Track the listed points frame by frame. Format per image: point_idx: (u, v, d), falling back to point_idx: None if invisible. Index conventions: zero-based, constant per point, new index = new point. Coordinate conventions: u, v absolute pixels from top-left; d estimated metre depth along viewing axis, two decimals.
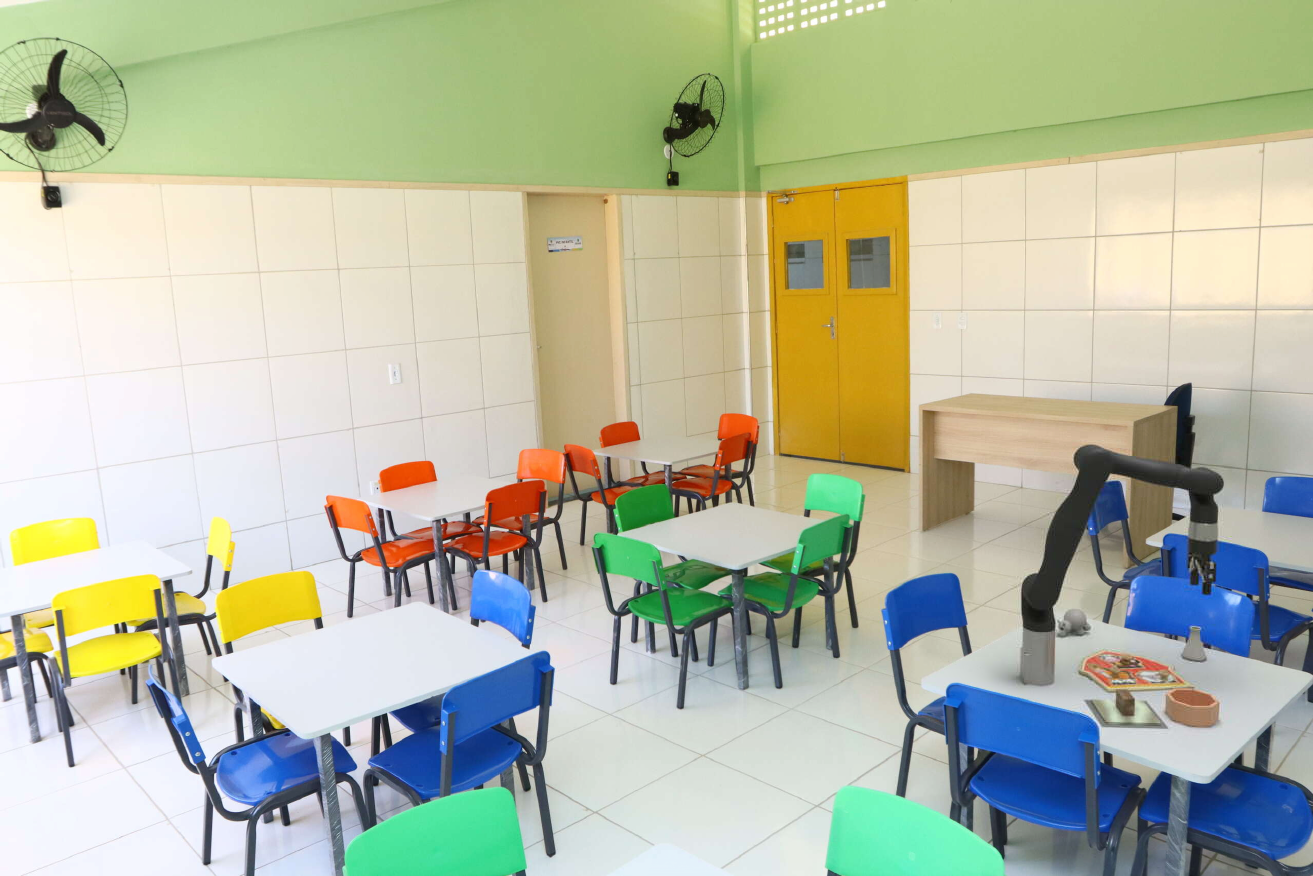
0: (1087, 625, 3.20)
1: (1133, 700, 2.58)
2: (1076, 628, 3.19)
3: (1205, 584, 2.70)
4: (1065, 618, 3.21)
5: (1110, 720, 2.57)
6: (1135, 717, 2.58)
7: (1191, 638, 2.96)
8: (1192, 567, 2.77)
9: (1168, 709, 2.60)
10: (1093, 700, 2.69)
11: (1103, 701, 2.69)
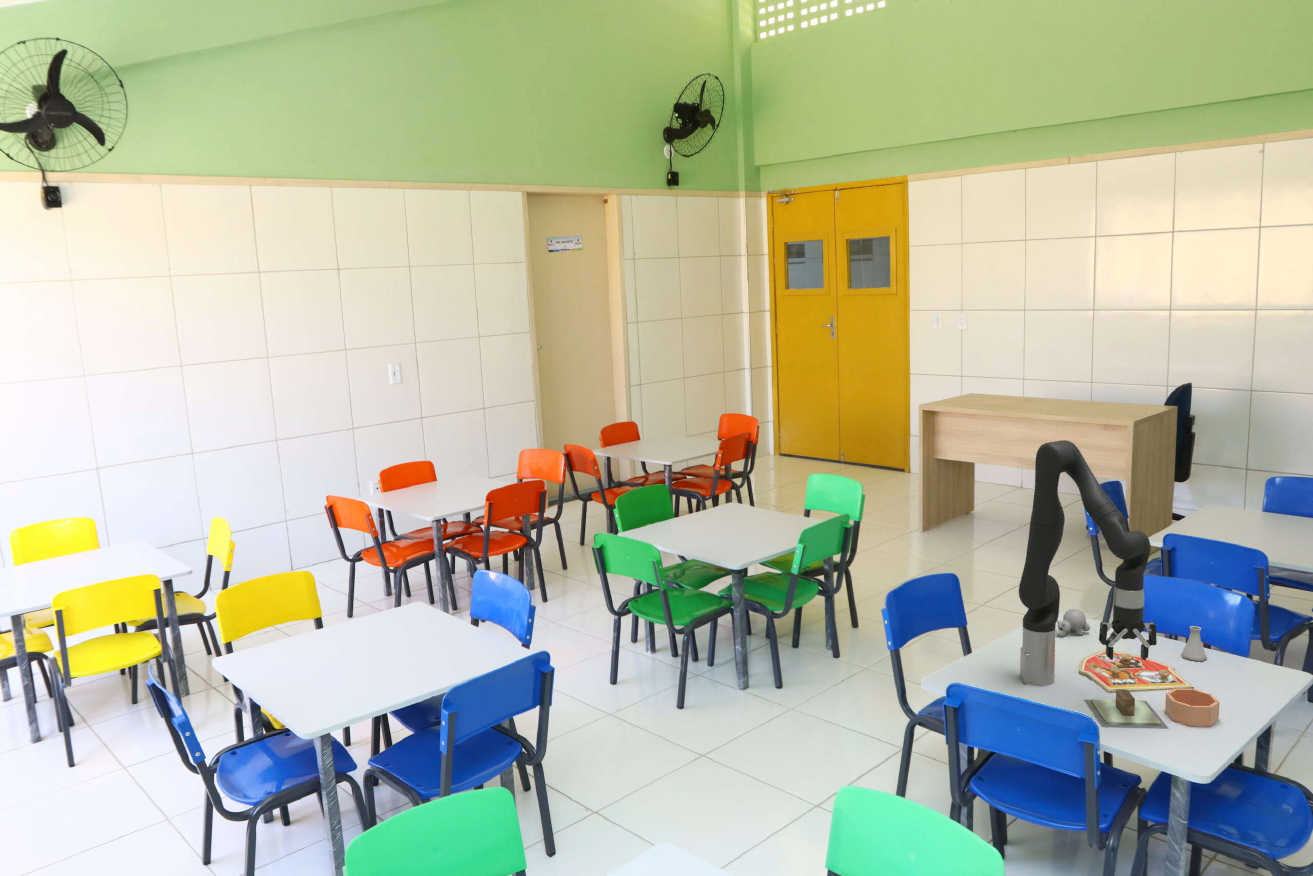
0: (1086, 625, 3.20)
1: (1133, 700, 2.58)
2: (1075, 628, 3.19)
3: (1147, 648, 2.58)
4: (1064, 618, 3.21)
5: (1110, 720, 2.57)
6: (1135, 717, 2.58)
7: (1191, 638, 2.96)
8: None
9: (1168, 709, 2.60)
10: (1093, 700, 2.69)
11: (1103, 701, 2.69)
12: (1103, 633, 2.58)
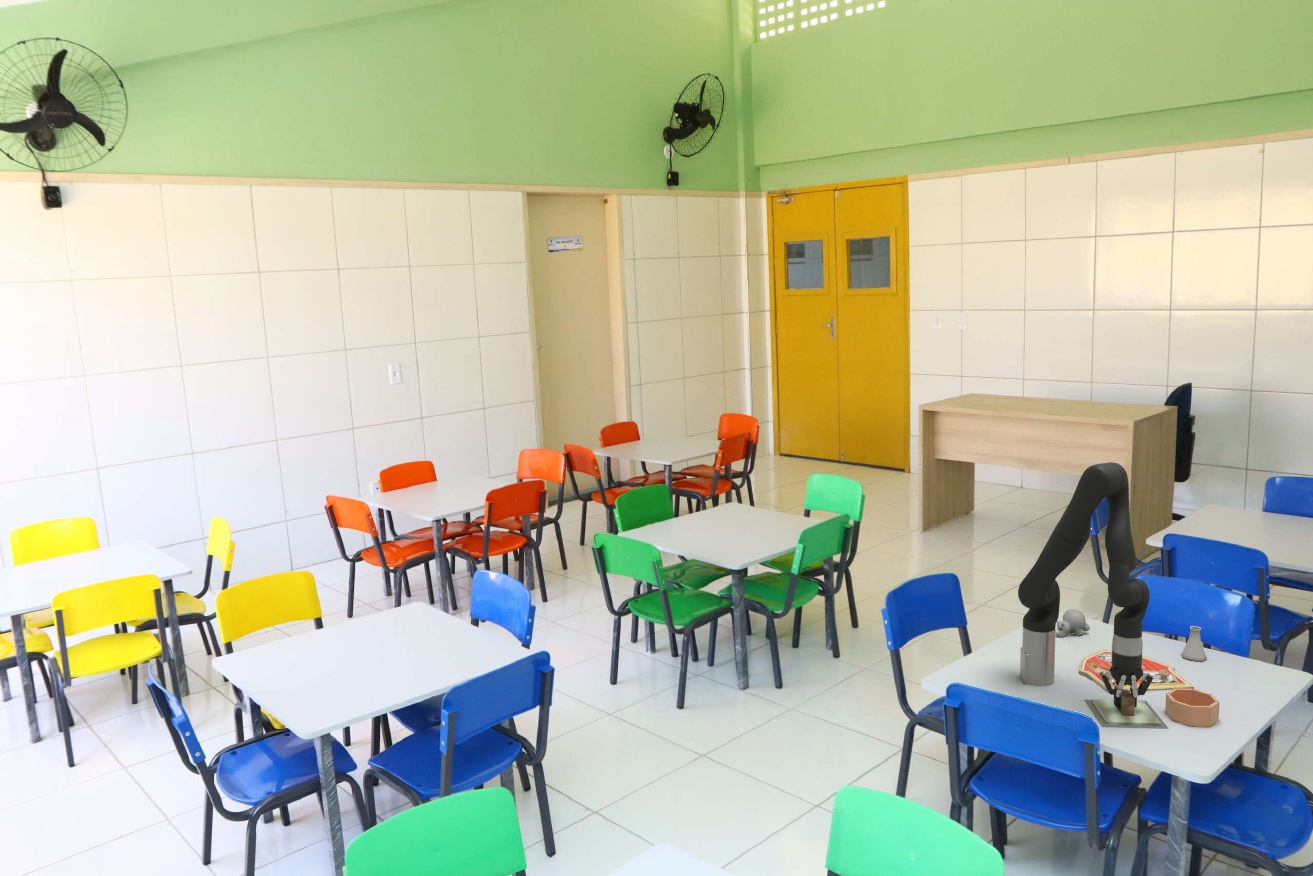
0: (1086, 625, 3.19)
1: (1133, 700, 2.58)
2: (1075, 628, 3.19)
3: (1135, 698, 2.61)
4: (1064, 618, 3.21)
5: (1110, 720, 2.57)
6: (1135, 717, 2.58)
7: (1191, 638, 2.96)
8: None
9: (1168, 709, 2.60)
10: (1093, 700, 2.69)
11: (1103, 701, 2.69)
12: (1106, 684, 2.61)
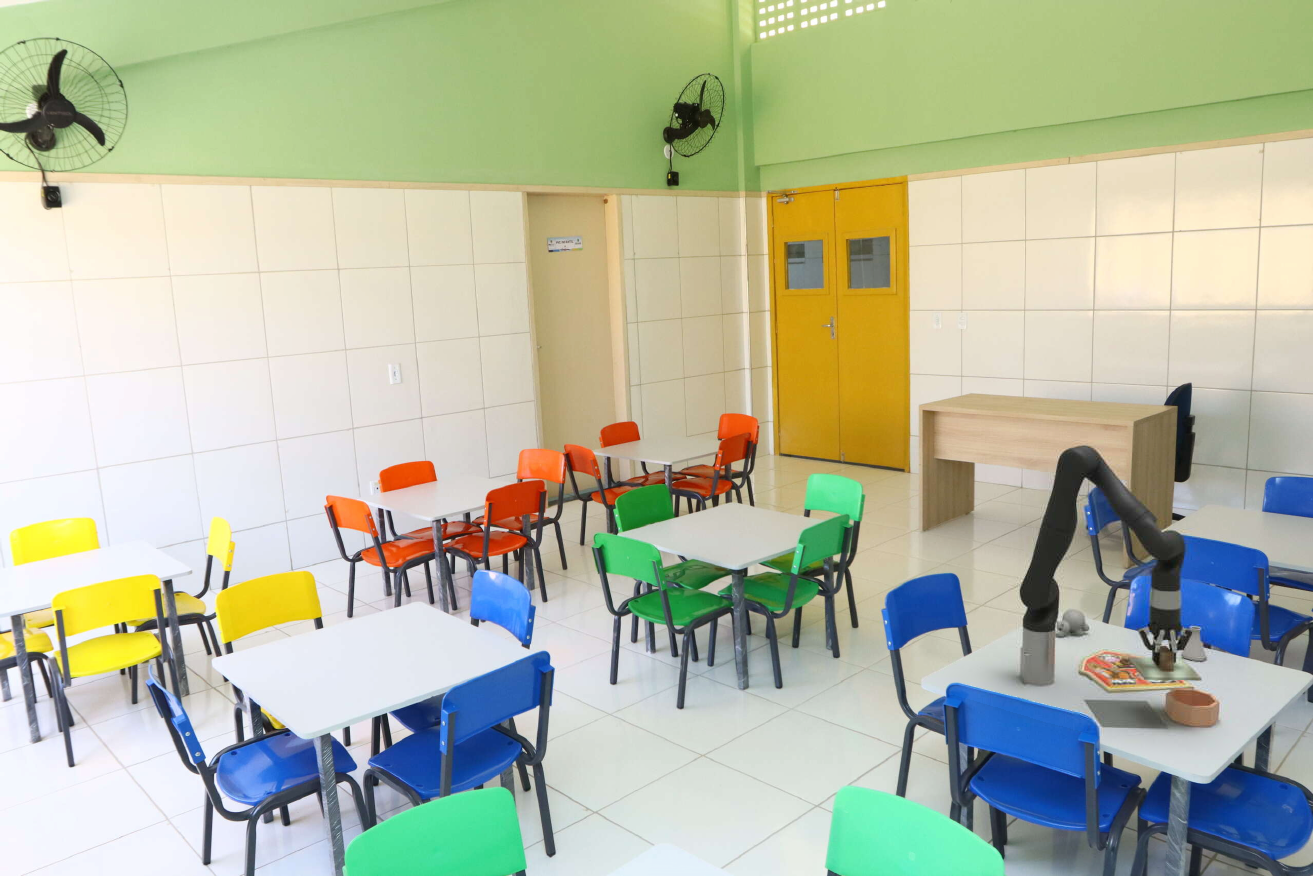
0: (1086, 625, 3.19)
1: (1172, 655, 2.54)
2: (1075, 628, 3.19)
3: (1175, 653, 2.56)
4: (1064, 618, 3.20)
5: (1149, 675, 2.53)
6: (1174, 672, 2.54)
7: (1191, 638, 2.96)
8: None
9: (1168, 709, 2.60)
10: (1131, 658, 2.65)
11: (1141, 658, 2.64)
12: (1144, 640, 2.56)
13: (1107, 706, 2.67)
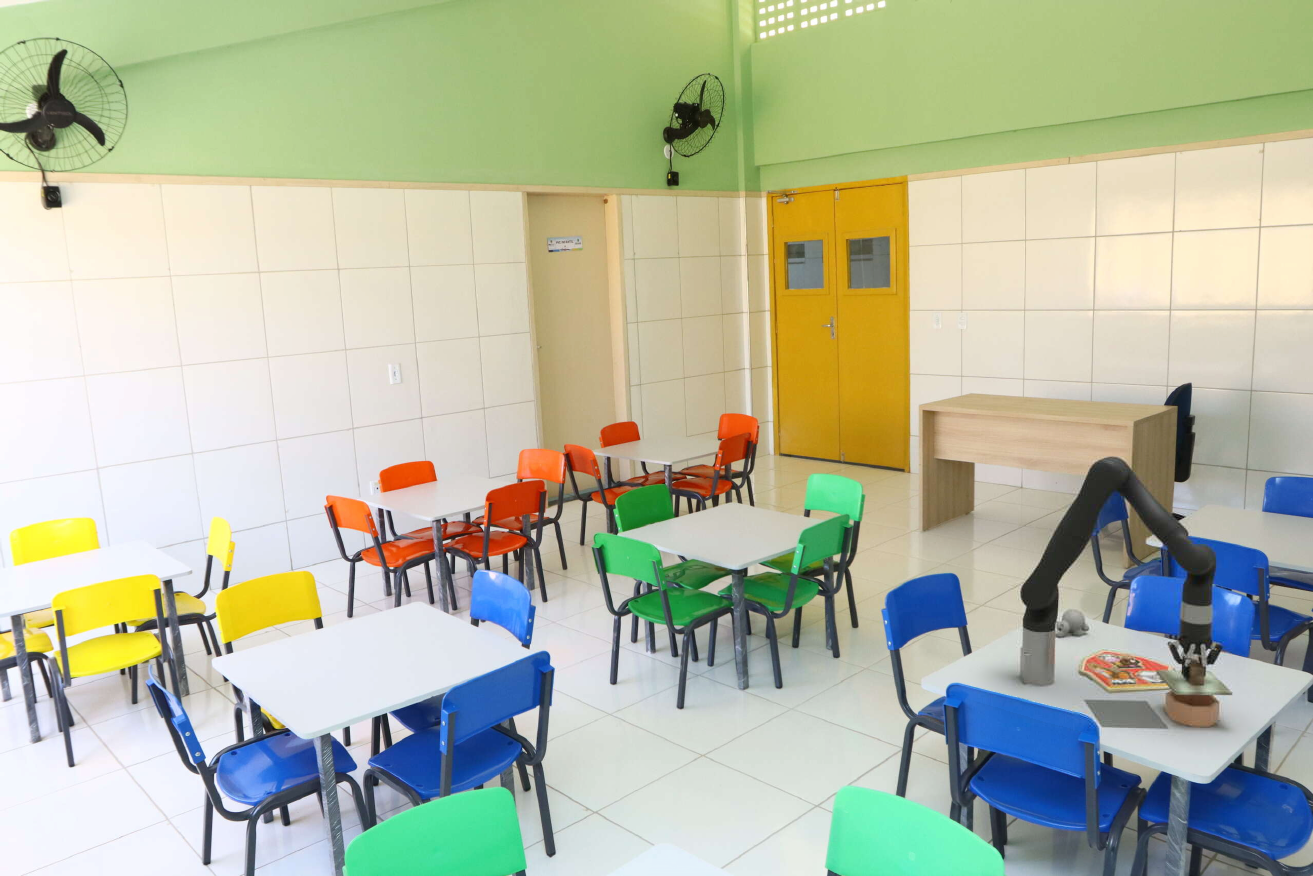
0: (1085, 626, 3.19)
1: (1203, 669, 2.53)
2: (1074, 629, 3.19)
3: (1204, 667, 2.55)
4: (1063, 618, 3.20)
5: (1180, 690, 2.52)
6: (1204, 686, 2.53)
7: None
8: None
9: (1168, 709, 2.60)
10: (1159, 671, 2.64)
11: (1169, 671, 2.64)
12: (1174, 654, 2.55)
13: (1107, 706, 2.67)
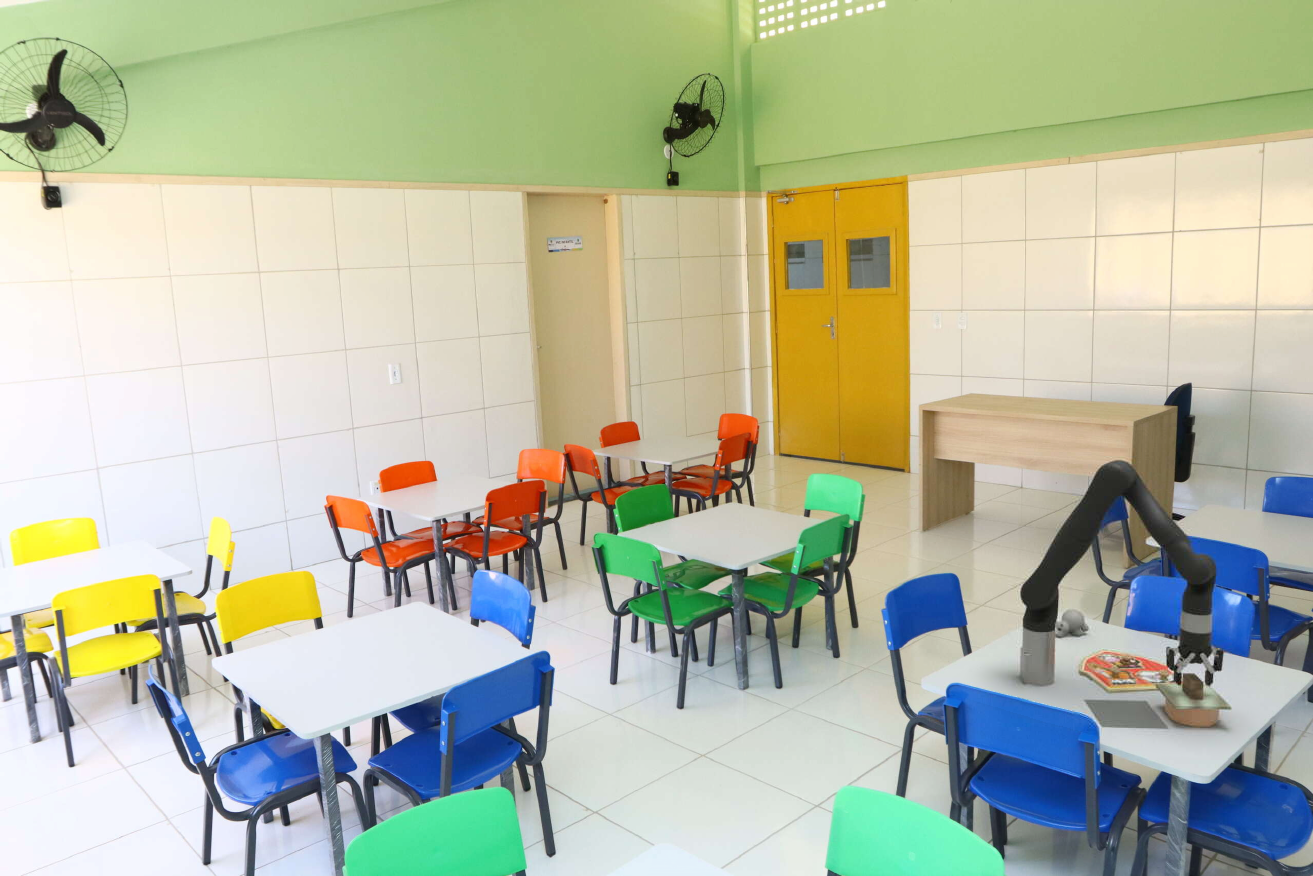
0: (1085, 626, 3.19)
1: (1202, 684, 2.54)
2: (1074, 629, 3.18)
3: (1212, 674, 2.55)
4: (1063, 619, 3.20)
5: (1179, 704, 2.53)
6: (1203, 701, 2.54)
7: None
8: None
9: (1168, 709, 2.60)
10: (1158, 684, 2.65)
11: (1168, 685, 2.64)
12: (1170, 659, 2.56)
13: (1107, 706, 2.67)
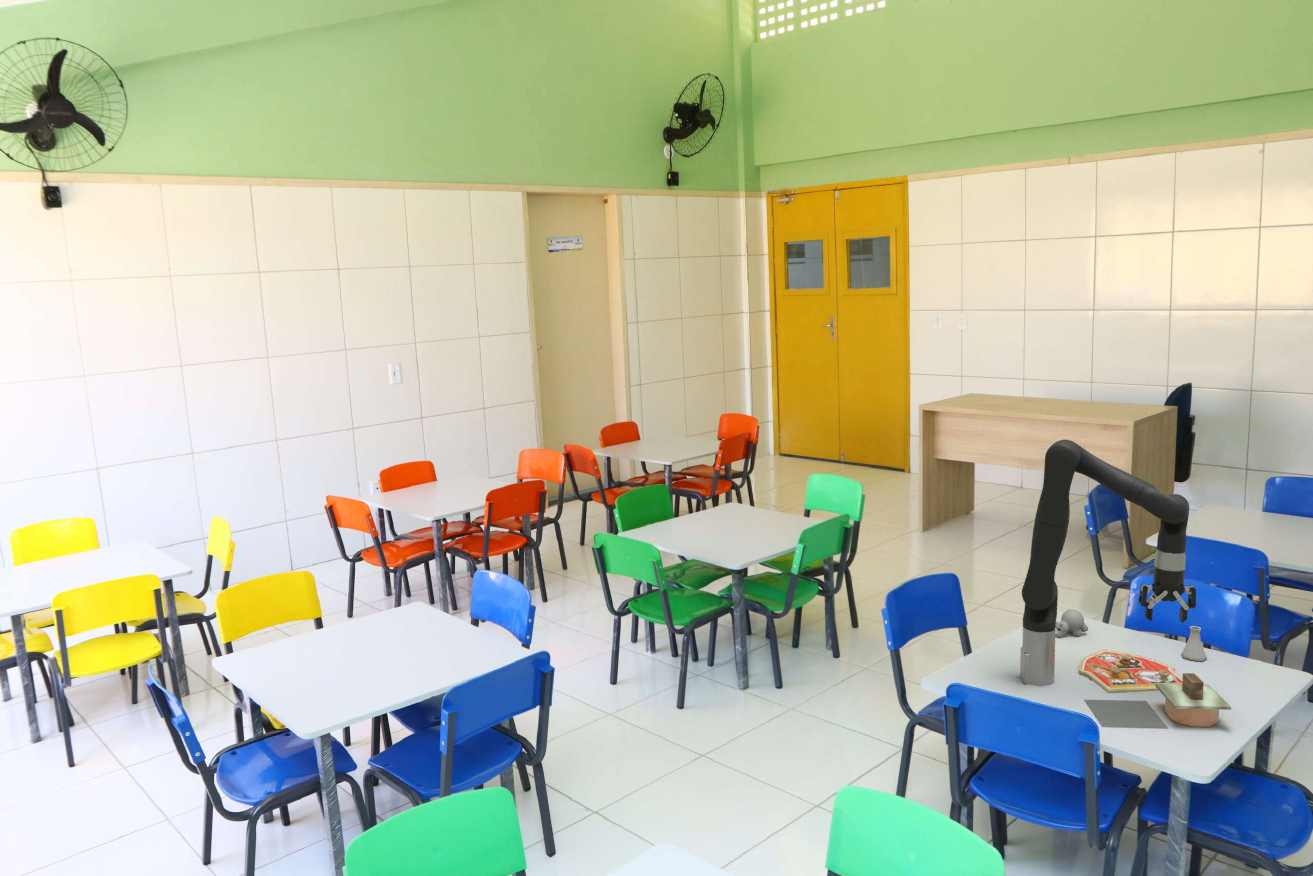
0: (1084, 626, 3.19)
1: (1202, 684, 2.54)
2: (1073, 629, 3.18)
3: (1186, 611, 2.62)
4: (1062, 619, 3.20)
5: (1179, 704, 2.53)
6: (1203, 701, 2.54)
7: (1191, 638, 2.96)
8: None
9: (1168, 709, 2.60)
10: (1158, 684, 2.65)
11: (1168, 685, 2.64)
12: (1143, 595, 2.63)
13: (1107, 706, 2.67)
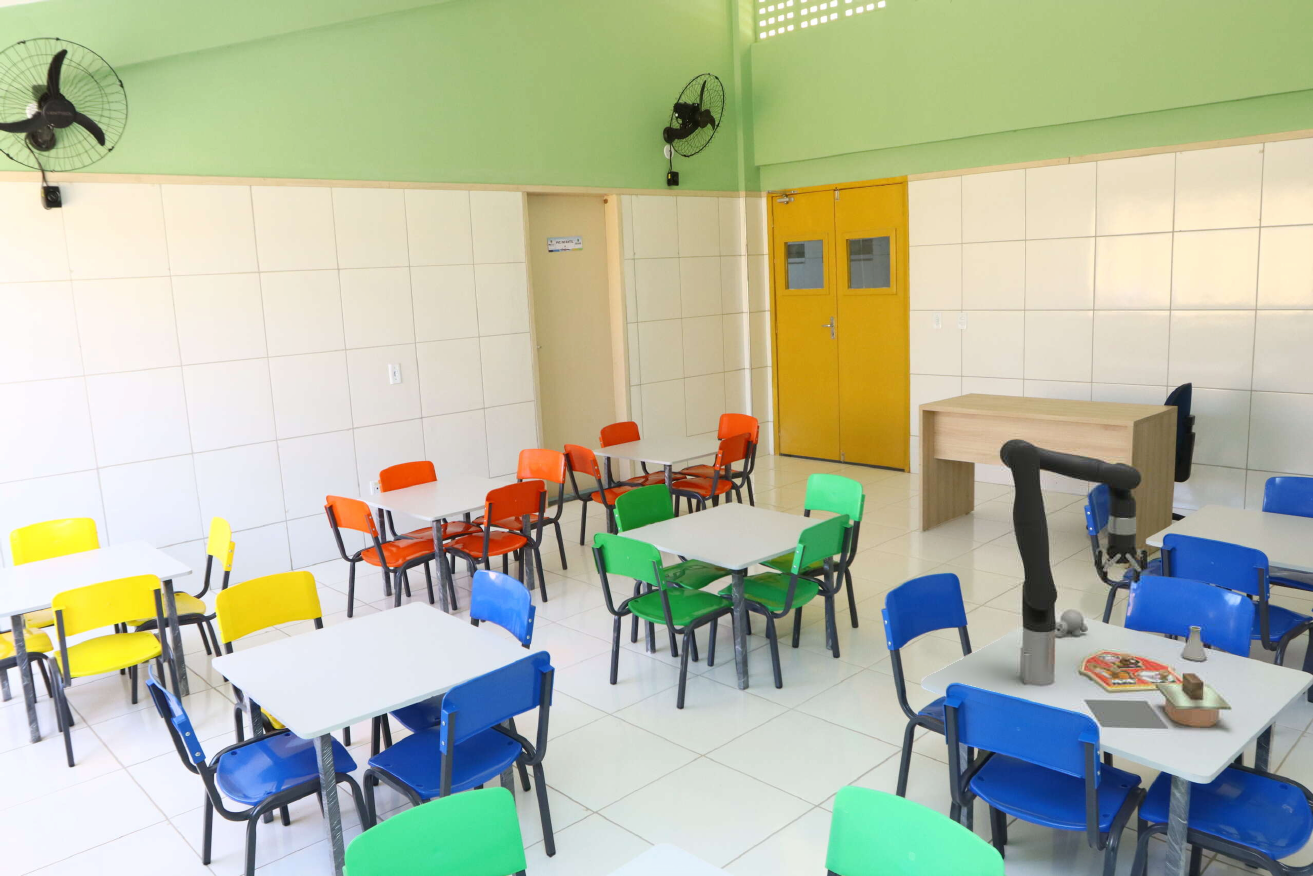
0: (1084, 626, 3.19)
1: (1202, 684, 2.54)
2: (1073, 629, 3.18)
3: (1139, 572, 2.80)
4: (1062, 619, 3.20)
5: (1179, 704, 2.53)
6: (1203, 701, 2.54)
7: (1191, 638, 2.96)
8: None
9: (1168, 709, 2.60)
10: (1158, 684, 2.65)
11: (1168, 685, 2.64)
12: (1098, 558, 2.81)
13: (1107, 706, 2.67)
